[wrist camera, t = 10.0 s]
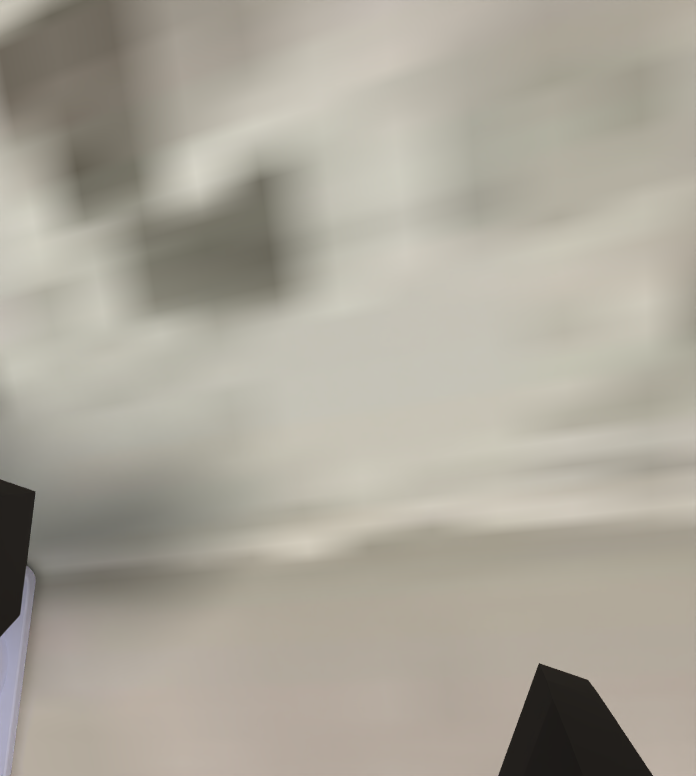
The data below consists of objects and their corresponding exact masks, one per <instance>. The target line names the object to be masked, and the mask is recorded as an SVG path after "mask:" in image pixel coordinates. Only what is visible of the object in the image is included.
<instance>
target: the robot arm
mask: <svg viewBox="0 0 696 776" xmlns="http://www.w3.org/2000/svg"><path fill="white" fill-rule="evenodd" d="M34 500H35V491H32V490H29V489H27V488H24V487H21V486H18V485H15V484H12V483H9V482H6V481H3V480H0V776H11V768H12V761H13V753H14V745H15V737H16V730H17V722H18V714H19V707H20V699H21V691H22V684H23V676H24V668H25V661H26V653H27V645H28V637H29V630H30V622H31V614H32V607H33V599H34V591H35V584H36V580H35V575H34V573H33V571H32V570H31V569H30V568H29V567H28V566H26V564H27V556H28V548H29V540H30V532H31V524H32V516H33V508H34ZM498 776H653V775H652V773H651V772H650V771H649V769H648V768H647V766H646V765H645V763H644V762H643V760H642V759H641V757H640V756H639V754H638V753H637V751H636V750H635V748H634V747H633V745H632V744H631V742H630V741H629V739H628V738H627V736H626V735H625V733H624V732H623V730H622V729H621V727H620V726H619V724H618V723H617V721H616V720H615V718H614V717H613V715H612V714H611V712H610V711H609V709H608V708H607V706H606V705H605V703H604V702H603V700H602V699H601V697H600V696H599V694H598V693H597V691H596V690H595V689H594V687H593V686H592V685H591V683H590V682H589V681H588V680H586V679H584V678H581V677H578V676H575V675H572V674H569V673H566V672H563V671H560V670H557V669H554V668H551V667H548V666H545V665H542V664H540V663H539V665H538V668H537V670H536V673H535V676H534V679H533V681H532V684H531V687H530V690H529V692H528V695H527V698H526V701H525V703H524V706H523V709H522V712H521V714H520V717H519V720H518V723H517V726H516V728H515V731H514V734H513V737H512V739H511V742H510V745H509V748H508V750H507V753H506V756H505V759H504V761H503V764H502V767H501V770H500V772H499V775H498Z"/></svg>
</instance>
